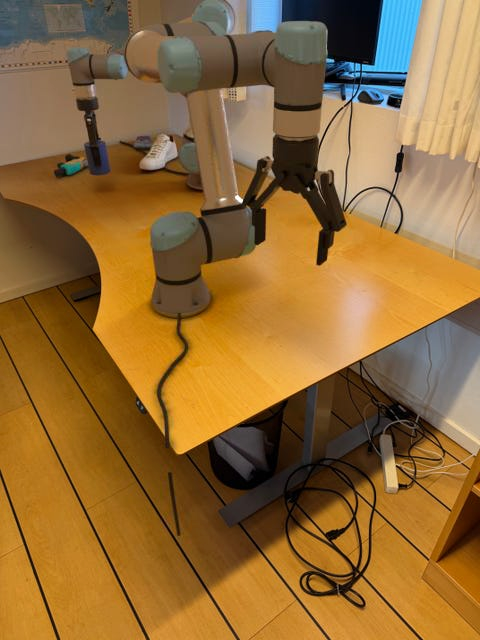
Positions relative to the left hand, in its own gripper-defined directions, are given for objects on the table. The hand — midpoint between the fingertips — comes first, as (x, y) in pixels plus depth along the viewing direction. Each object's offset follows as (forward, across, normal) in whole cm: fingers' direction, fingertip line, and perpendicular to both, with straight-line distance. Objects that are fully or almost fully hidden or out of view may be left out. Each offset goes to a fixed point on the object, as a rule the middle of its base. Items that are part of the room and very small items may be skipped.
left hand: (289, 252), depth 89 cm
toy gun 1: (+28, +148, -54) cm, 159 cm away
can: (+19, +113, -44) cm, 123 cm away
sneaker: (+28, +121, -82) cm, 149 cm away
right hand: (+15, +113, -44) cm, 122 cm away
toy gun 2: (+28, +143, -100) cm, 176 cm away
